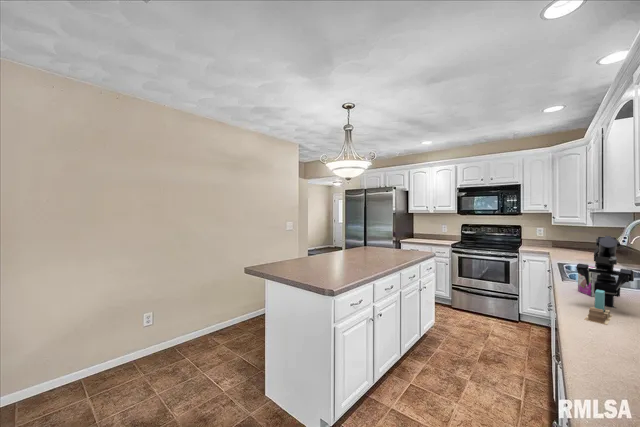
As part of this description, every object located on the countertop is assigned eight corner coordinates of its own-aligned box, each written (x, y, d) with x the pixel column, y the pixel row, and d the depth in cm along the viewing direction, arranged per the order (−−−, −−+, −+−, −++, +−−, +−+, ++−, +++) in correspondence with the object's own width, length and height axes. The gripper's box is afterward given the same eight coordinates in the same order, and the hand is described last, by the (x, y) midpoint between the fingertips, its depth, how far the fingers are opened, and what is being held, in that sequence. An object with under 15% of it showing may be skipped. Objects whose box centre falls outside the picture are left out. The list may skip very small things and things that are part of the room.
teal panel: (596, 313, 128) (596, 289, 128) (604, 315, 126) (604, 290, 126) (594, 316, 125) (595, 291, 125) (602, 318, 123) (603, 292, 123)
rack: (591, 312, 133) (591, 305, 133) (612, 317, 127) (612, 309, 127) (583, 322, 121) (584, 313, 121) (607, 327, 116) (607, 318, 116)
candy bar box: (577, 291, 168) (577, 263, 168) (586, 291, 167) (587, 263, 167) (590, 296, 157) (591, 267, 157) (601, 297, 156) (601, 267, 156)
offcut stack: (589, 316, 125) (589, 306, 125) (605, 320, 121) (605, 310, 121) (587, 319, 122) (587, 309, 121) (603, 323, 118) (604, 312, 118)
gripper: (577, 247, 140) (571, 274, 134) (634, 252, 125) (630, 282, 119) (580, 259, 145) (575, 286, 139) (635, 266, 130) (632, 296, 125)
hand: (601, 287), depth 130 cm, fingers open, 9 cm apart
